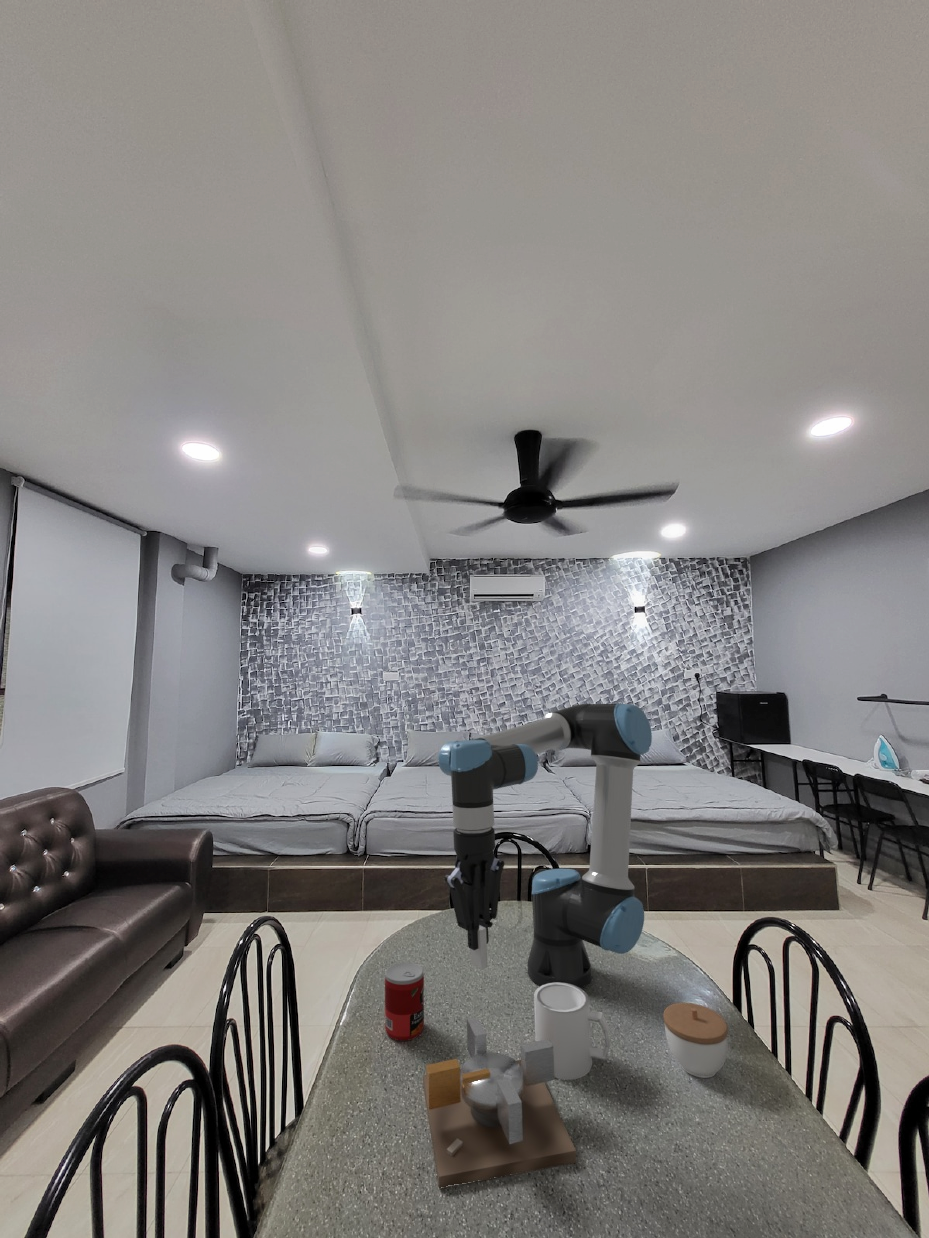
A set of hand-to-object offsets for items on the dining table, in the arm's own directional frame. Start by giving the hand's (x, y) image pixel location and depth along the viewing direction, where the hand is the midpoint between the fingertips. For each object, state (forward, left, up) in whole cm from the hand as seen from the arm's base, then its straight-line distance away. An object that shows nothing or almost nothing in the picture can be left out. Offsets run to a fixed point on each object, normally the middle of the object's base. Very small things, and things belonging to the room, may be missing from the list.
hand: (479, 965), depth 94 cm
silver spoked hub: (0, +7, -15) cm, 17 cm away
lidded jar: (-39, +3, -20) cm, 44 cm away
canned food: (+12, -19, -20) cm, 30 cm away
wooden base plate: (0, +7, -19) cm, 21 cm away
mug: (-17, -3, -20) cm, 26 cm away
